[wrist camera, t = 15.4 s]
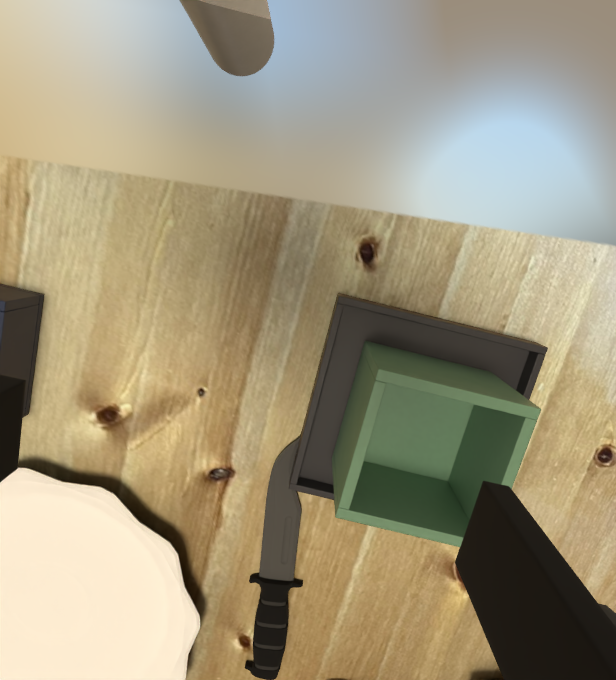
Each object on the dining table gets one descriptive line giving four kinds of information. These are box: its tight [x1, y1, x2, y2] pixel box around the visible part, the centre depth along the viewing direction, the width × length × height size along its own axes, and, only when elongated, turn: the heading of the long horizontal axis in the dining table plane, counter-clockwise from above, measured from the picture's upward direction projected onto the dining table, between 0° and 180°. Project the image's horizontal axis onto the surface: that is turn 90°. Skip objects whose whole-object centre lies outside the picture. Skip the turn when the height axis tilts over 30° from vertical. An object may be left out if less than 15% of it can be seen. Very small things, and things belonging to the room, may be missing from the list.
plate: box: [0, 467, 201, 680], centre depth 44 cm, size 29×29×2 cm
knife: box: [245, 437, 303, 680], centre depth 43 cm, size 25×2×5 cm
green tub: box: [332, 341, 541, 547], centre depth 36 cm, size 11×11×9 cm
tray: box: [289, 293, 548, 500], centre depth 40 cm, size 17×17×2 cm
